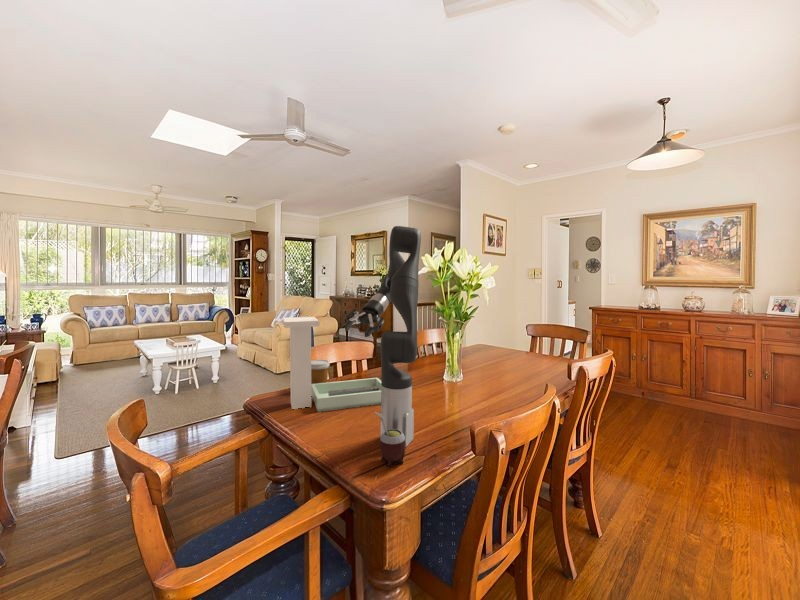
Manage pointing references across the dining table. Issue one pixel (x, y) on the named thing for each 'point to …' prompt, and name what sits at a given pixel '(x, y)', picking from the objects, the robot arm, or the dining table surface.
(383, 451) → the mate gourd
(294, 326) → the stand
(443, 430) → the dining table surface
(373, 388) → the bar
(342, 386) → the tray
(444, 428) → the dining table surface
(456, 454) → the dining table surface
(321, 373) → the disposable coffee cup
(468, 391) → the dining table surface
